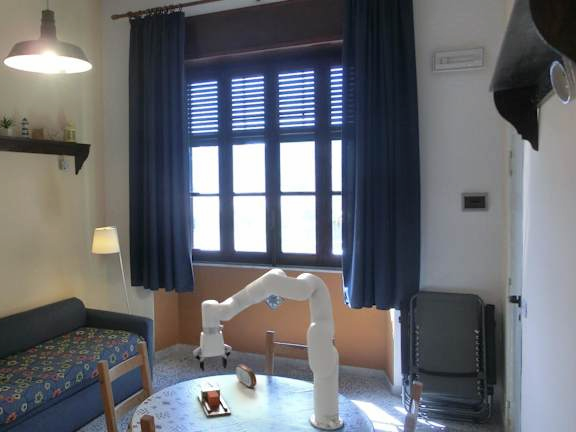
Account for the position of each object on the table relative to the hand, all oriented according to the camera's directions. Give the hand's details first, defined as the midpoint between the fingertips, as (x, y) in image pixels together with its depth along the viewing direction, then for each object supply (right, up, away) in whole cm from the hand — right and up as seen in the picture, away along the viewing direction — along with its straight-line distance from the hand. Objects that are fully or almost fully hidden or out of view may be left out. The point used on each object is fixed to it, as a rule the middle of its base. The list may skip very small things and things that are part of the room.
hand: (213, 368), depth 216 cm
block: (0, -15, +1) cm, 15 cm away
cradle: (0, -16, +1) cm, 16 cm away
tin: (+16, -15, +22) cm, 31 cm away
